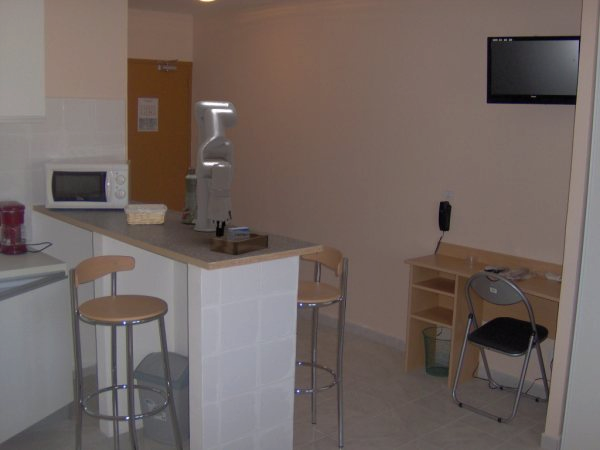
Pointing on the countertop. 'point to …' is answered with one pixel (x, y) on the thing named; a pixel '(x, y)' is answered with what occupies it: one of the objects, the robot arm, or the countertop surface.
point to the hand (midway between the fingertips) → (219, 236)
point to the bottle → (190, 198)
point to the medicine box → (238, 233)
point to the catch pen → (240, 244)
